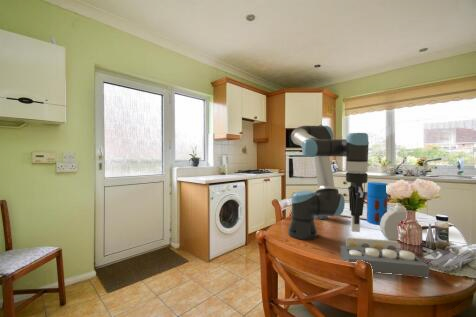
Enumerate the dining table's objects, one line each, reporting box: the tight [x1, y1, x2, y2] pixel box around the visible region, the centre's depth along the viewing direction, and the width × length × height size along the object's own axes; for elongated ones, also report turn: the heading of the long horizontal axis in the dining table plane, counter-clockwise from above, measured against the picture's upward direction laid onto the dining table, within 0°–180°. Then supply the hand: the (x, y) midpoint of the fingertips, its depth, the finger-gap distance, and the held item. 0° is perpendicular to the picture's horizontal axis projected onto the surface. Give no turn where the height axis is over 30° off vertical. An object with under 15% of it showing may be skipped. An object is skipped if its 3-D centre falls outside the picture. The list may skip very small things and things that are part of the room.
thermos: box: [366, 181, 388, 226], centre depth 138 cm, size 11×11×25 cm
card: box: [345, 236, 399, 250], centre depth 94 cm, size 20×1×7 cm, turn 78°
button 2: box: [365, 248, 379, 257], centre depth 86 cm, size 5×5×3 cm
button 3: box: [382, 249, 397, 259], centre depth 84 cm, size 5×5×3 cm
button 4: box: [399, 249, 415, 261], centre depth 83 cm, size 5×5×3 cm
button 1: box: [349, 250, 362, 256], centre depth 87 cm, size 5×5×3 cm
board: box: [340, 245, 430, 278], centre depth 85 cm, size 26×12×4 cm, turn 78°
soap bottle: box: [379, 202, 419, 241], centre depth 112 cm, size 16×5×20 cm, turn 80°
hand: (355, 231), depth 87 cm, fingers closed
